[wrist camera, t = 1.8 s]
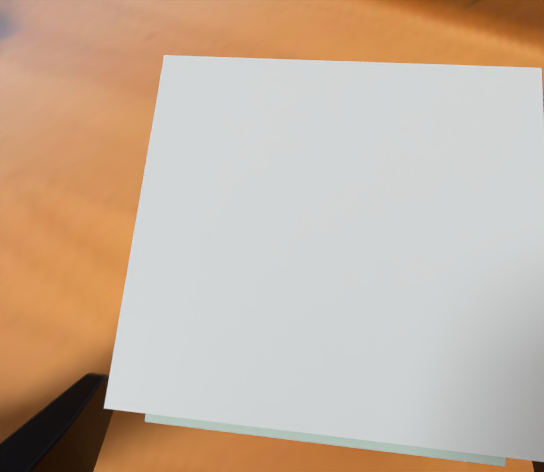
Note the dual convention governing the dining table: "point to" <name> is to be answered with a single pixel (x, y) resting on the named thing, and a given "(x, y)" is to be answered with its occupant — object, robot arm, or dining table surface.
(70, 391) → the robot arm
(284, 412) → the white notched pillar
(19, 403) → the dining table surface
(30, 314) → the dining table surface
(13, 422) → the dining table surface
